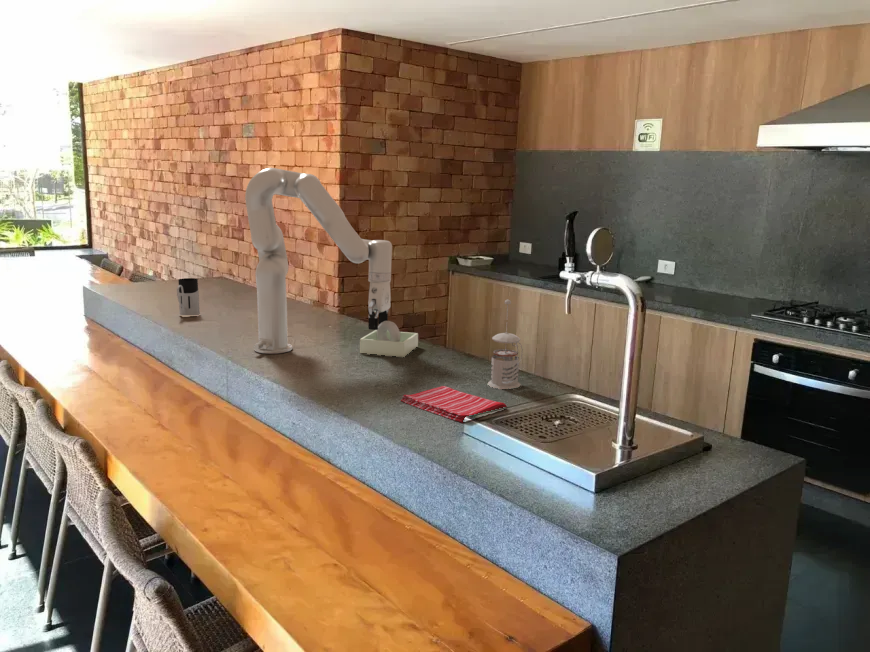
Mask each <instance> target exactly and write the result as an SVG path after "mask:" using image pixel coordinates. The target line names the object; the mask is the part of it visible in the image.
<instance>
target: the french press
mask: <svg viewBox="0 0 870 652" xmlns="http://www.w3.org/2000/svg"><path fill="white" fill-rule="evenodd" d="M504 304H505V305H506V306H507V307H506V319H508V317H509V316H508V311H509V305H511V304H512V300H510V299H506V300H504ZM505 324H506V325H505V326H506V329H505V330H506V331H505V332H501V333H500V332H499V333H496V334H495V335H493V336H492V337H491V339H492V340H493V342H495V343H500V344H511V345H512V347H516V349H517V350H514V349H507V346H505V349H504V348H503V349H502V348H501V349H500V348H499V349H495V350H493V351H492V352H493V355H492V356H491V368H490V369H491V371H490V373H491V375H490V378H491V379H490V380H489V381H488V382H487V386H488V385H489V386H490V388H492V387H493V388H492V389H495V388H498V389H497V390H502V389H508V388H509V389H511V388H516V387H519V386H520V385H521V386H522V384H521V383H520V382H519V381H518V380H519V364H520V363H521V361H522V359H523V350H524V349H523V346H522V344H521V342H520V341H521V338H520V337H519V336H517V335H516V334H514V333H509V332H508V323H505ZM513 344H515V345H513ZM518 344H519V345H520V348H521V355H520V358H519V346H518ZM513 357H514V358H513ZM500 359H503V360H500ZM513 359H514V360H513ZM519 359H520V360H519ZM489 386H488V387H489Z"/></svg>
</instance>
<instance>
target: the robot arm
mask: <svg viewBox="0 0 870 652" xmlns="http://www.w3.org/2000/svg"><path fill="white" fill-rule="evenodd" d="M244 195H245V196H244V197H245V198H244V199H245V207H246V213H247V221H248V225H249V232H250V238H251V239H250V240H251V243H252V246H253V248H255V249H256V251H257V255H258V260H259V261H258V263H257V265H256V267H255V286H256V300H257V303H256V305H257V326H258V328H257V329H258V331H257V333H258V340H257V341H258V342H256V343H254V344H253V350H254V351H255V352H256V353H260V354H268V355H269V354H270V355H271V354H275V355H276V354H283V353H287V352H291V350H293V345H292V344H290V343H288V342H289V341H288V303H287V300H288V299H287V283H286V279H287V278H286V276H287V275H288V272H289V262H288V261H289V260H288V254H287V250H286V245H285V238H284V235H283V234H284V233H283V231H282V229H281V228H280V226H279V225H278V224H277V222H276V221H277V220H276V216H275V210H274V205H273V198H274V196H275V195H276V196H277V195H278V196H285V197H290V198H297V199H299V200H300V201H301V202H302V203H303V204H304V206H305V207H306V208H307V209H308V211H309V212H310V213H311V214H312V215H313V217H314V218H315V219H316V221H317V222H318V223H319V224H320V226H321V228H322V229H323V230H324V232H326V233H327V234H328V236H329V237H330V238H331V240H332V241H333V243H335V245H336V246H337V247H338V249H340V251H341V252H342V253H343V255H344V256H345V258H346V259H348V261H350V262H351V263H353V264H361V263H363V262H365V261H367V260H368V280H367V281H368V282H369V289H368V302H367V303H368V307H367V309H368V313H367V314H368V315H367V317H368V327H367V328H368V330H372V331H375V330H378V326H379V325H380V324H381V323H382V322H384V321H389V320H388V319H389V314H388V313H389V309H391V301H392V297H391V295H392V294H391V281H392V258H393V257H392V256H393V255H392V253H393V244H392V242H391V241H389V240H386V239H385V240H384V239H373V240H371V239H366V238H365V239H364V238H361V237H360V235H359V234H358V233H357V231H356V230H355V229H354V227H352V225H351V223H350V222H349V220H348V219H347V217H346V215H345V213H344V211H343V210H342V208H341V206H340V205H339V204H338V203H337V201H336V200H335V199H334V198H333V197H332V196H331V194H330V193H329V192H328V190H327V189H326V188H325V186H323V184H322V183H321V181H320V179H319V178H318V177H317V176H316V175H315V174H311V173H304V172H297V171H293V170H286V169H282V168H281V169H280V168H276V167H267V168H264V169H261V170H260V171H258V172H257V173H256V174H254V175H253V176H252V178H251V179H250V180H249V181H248V183H247V186H246V189H245V194H244Z"/></svg>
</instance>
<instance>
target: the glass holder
mask: <svg viewBox="0 0 870 652" xmlns="http://www.w3.org/2000/svg"><path fill="white" fill-rule="evenodd" d="M199 292H200V291H199V281H198V278H194V277H191V278H189V277H188V278H184V277H183V278H179V279H178V285H177V288H176V293H177V294H176V296H177V300H178V305H179V306H178V307H179V314H180V315H199V314H201V311H200V295H199V294H200V293H199ZM179 314H178V315H179Z"/></svg>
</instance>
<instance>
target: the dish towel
mask: <svg viewBox="0 0 870 652" xmlns="http://www.w3.org/2000/svg"><path fill="white" fill-rule="evenodd" d="M401 397H402V399H400V402H403V403H405V404H407V405H410V406H413V407H415V408H417V409H421V410H422V411H426V412H429V413H432V414H435V415H438V416H440V417H443V418H446V419H450V420H452V421H455V422H458V423H461V424H464V423H463V420H464V418H465V417H466V416H469V415H474V414H478V413H483V412H486V411H491V410H495V409H499V408H503V407H507V408H508V406H507V404H506V403H504V402H502V401H495V400H491V399H487V398H484V397H481V396H477V395H474V394H470V393H466V392H464V391H459V390H457V389H454V388H452V387H449V386H445V385H441V386H438V387H434V388H431V389H427V390H424V391H420V392H418V393H413V394H403V395H402V396H401Z"/></svg>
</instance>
